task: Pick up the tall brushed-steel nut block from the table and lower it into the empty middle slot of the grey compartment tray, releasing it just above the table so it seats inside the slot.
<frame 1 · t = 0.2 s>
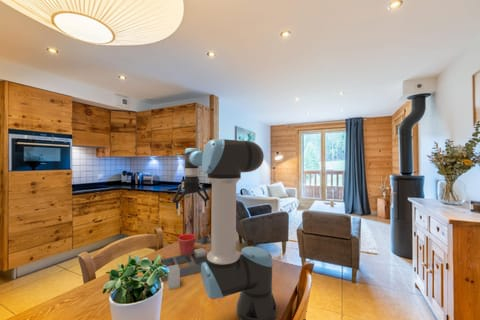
hand: (191, 213, 117), 27 cm above the table, fingers open, 13 cm apart
seated nut: (199, 265, 115), resting in grey compartment tray
flower pot: (186, 252, 131), on the table
grey compartment tray: (184, 268, 111), on the table
nut block: (173, 285, 96), on the table
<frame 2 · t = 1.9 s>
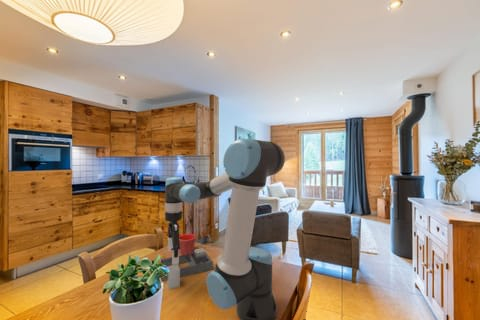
hand: (172, 257, 96), 13 cm above the table, fingers open, 13 cm apart
nothing on the table moved.
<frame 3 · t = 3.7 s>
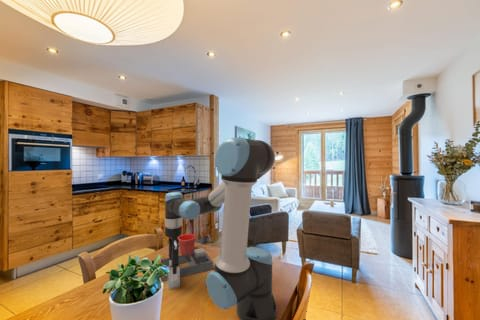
hand: (173, 276, 96), 4 cm above the table, fingers closed on nut block, 5 cm apart
nut block: (173, 285, 96), on the table, touching gripper
everything else where it was.
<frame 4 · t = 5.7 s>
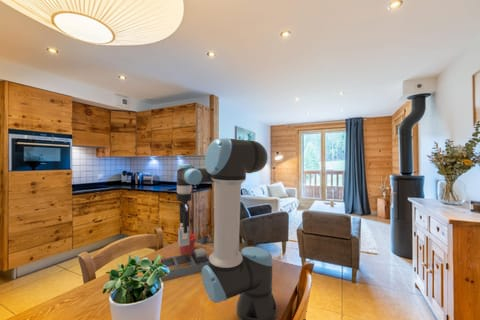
hand: (183, 236, 111), 17 cm above the table, fingers closed on nut block, 5 cm apart
nut block: (183, 244, 111), point 13 cm above the table, touching gripper
everything else where it was.
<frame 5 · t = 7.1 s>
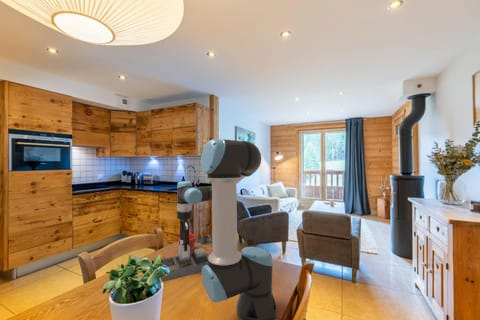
hand: (184, 254, 111), 7 cm above the table, fingers closed on nut block, 5 cm apart
nut block: (183, 261, 111), point 4 cm above the table, touching gripper
everything else where it was.
when the fingers open (6 cm above the table, at t = 8.0 s): nut block drops 2 cm, resting in grey compartment tray.
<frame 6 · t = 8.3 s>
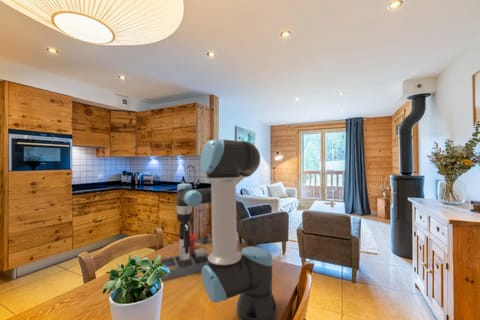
hand: (184, 255, 111), 7 cm above the table, fingers open, 9 cm apart
nut block: (184, 268, 111), resting in grey compartment tray
everything else where it was.
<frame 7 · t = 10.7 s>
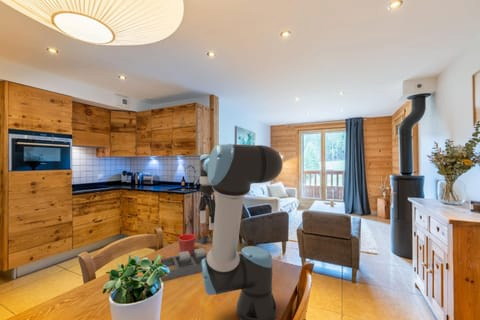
hand: (207, 226, 108), 24 cm above the table, fingers open, 13 cm apart
nothing on the table moved.
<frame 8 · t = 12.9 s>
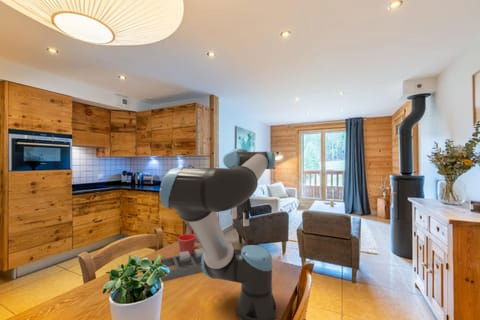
hand: (239, 222, 105), 27 cm above the table, fingers open, 13 cm apart
nothing on the table moved.
at the end: nut block inside the target area on the grey compartment tray (0.1 cm from its centre), point 0.0 cm above the grey compartment tray's base; the gripper is holding nothing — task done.
